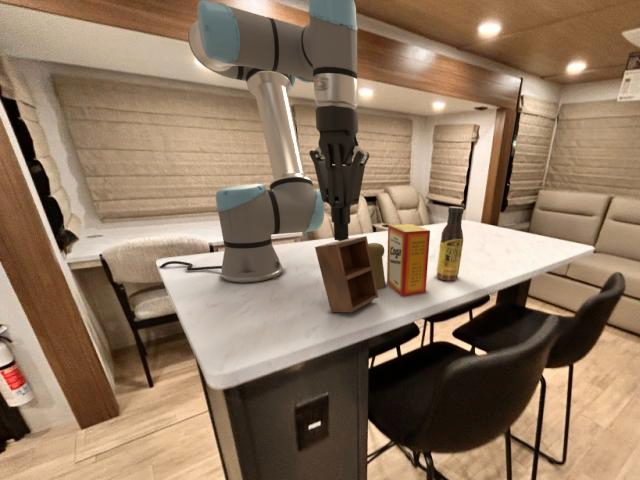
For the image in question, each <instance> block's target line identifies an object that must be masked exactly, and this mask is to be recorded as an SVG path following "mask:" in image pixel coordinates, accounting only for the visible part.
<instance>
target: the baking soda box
mask: <svg viewBox="0 0 640 480" xmlns="http://www.w3.org/2000/svg"><path fill="white" fill-rule="evenodd" d="M430 238H431V230H429V229H427V228H424V227H422V226H420V225H416V224H412V223H402V224H401V223H400V224H388V225H387V260H386V263H387V264H386V284H387V285H388V286H389V287H391V288H392V289H393V290H394V291H396V292H397V293H398V294H399V295H401V296H402V297H405V296H412V295H417V294H425V293H426V292H427V290H426V289H427V278H428V267H429V266H428V265H429V252H430V240H431V239H430Z"/></svg>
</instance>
